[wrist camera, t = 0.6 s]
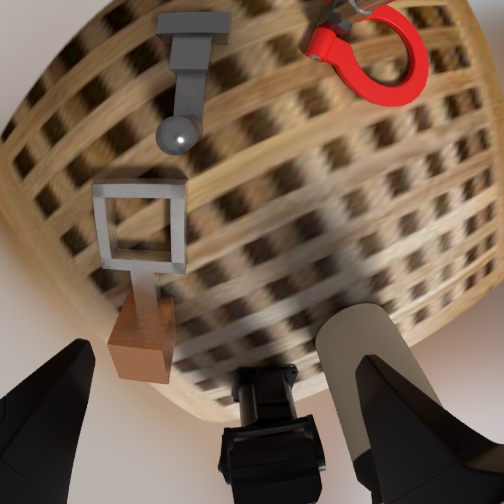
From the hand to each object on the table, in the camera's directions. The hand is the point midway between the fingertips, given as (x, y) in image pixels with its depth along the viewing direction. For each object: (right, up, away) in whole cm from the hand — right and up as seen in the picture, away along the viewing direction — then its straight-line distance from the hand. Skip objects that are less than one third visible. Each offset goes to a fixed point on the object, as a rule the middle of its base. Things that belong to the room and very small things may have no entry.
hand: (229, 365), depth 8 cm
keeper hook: (-3, +14, +7) cm, 16 cm away
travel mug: (+11, -4, +18) cm, 22 cm away
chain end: (-7, +2, +13) cm, 15 cm away
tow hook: (+9, +18, +6) cm, 21 cm away
